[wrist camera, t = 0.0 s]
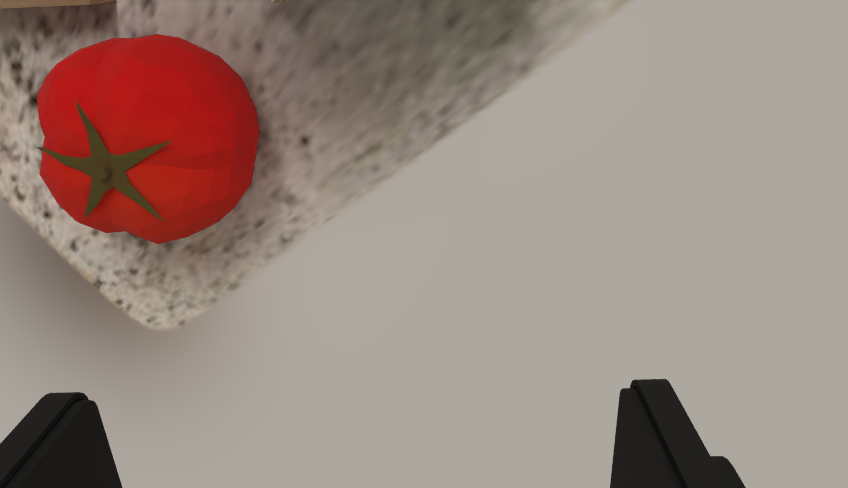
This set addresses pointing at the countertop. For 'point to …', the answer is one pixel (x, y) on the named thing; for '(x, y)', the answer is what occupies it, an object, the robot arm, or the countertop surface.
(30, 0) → the podium
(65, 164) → the tomato
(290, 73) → the countertop surface
